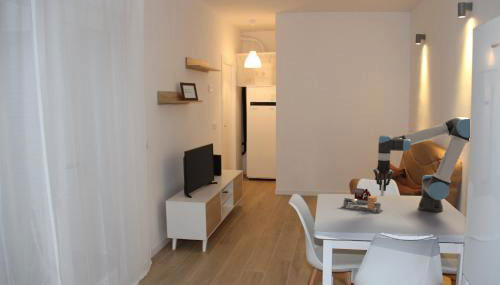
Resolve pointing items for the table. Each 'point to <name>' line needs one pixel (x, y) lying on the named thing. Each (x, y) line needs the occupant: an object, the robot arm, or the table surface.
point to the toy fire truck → (361, 194)
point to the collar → (372, 202)
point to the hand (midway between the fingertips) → (382, 195)
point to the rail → (365, 209)
